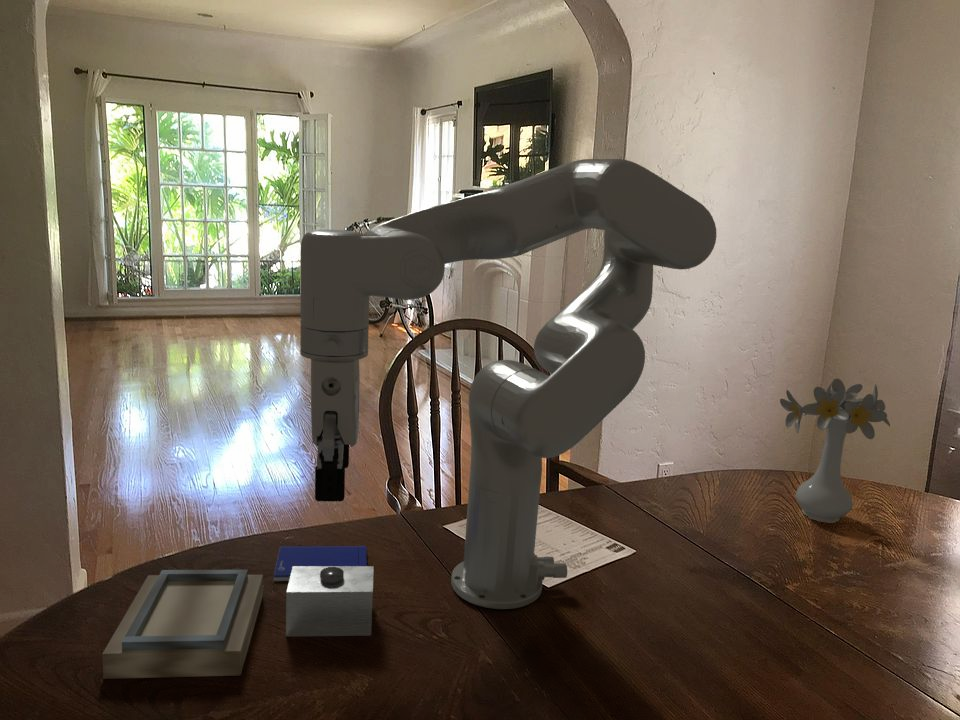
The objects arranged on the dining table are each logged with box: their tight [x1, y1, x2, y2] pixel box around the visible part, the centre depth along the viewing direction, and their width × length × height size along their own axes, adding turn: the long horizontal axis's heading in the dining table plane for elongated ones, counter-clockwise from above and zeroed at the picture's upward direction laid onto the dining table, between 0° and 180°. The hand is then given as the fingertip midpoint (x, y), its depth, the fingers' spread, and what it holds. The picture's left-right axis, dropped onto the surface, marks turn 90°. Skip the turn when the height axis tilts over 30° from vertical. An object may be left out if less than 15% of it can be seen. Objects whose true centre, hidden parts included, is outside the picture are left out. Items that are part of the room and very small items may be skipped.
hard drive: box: [273, 545, 368, 582], centre depth 104 cm, size 2×8×12 cm
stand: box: [101, 569, 264, 680], centre depth 86 cm, size 14×16×4 cm
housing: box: [285, 565, 375, 637], centre depth 90 cm, size 10×6×7 cm, turn 97°
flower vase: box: [779, 377, 891, 522], centre depth 129 cm, size 13×18×25 cm
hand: (332, 482), depth 87 cm, fingers open, 9 cm apart
